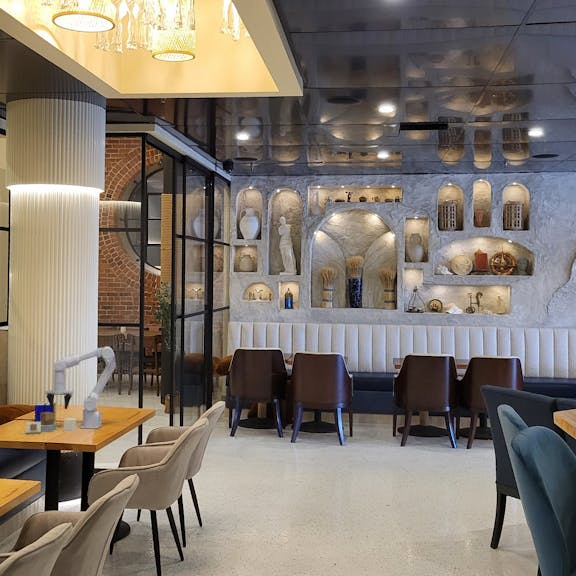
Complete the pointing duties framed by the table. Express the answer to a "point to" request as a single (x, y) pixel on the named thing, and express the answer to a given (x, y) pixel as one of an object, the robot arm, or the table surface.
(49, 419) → the walnut block
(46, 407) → the puzzle cube
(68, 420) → the off-white block
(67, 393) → the robot arm
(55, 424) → the base block
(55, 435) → the table surface
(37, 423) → the cream-edged tan board
